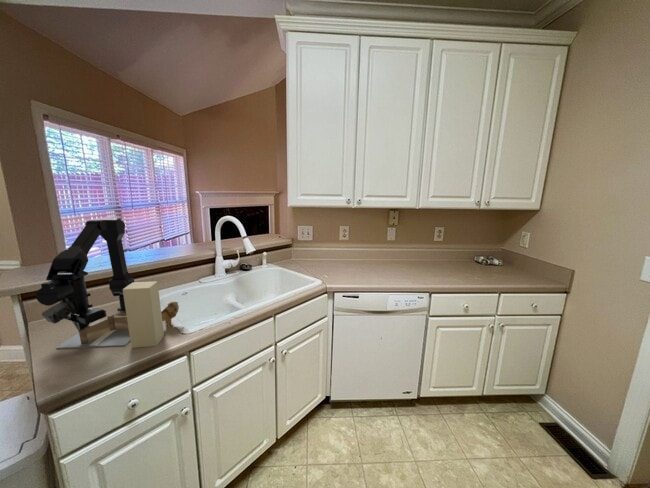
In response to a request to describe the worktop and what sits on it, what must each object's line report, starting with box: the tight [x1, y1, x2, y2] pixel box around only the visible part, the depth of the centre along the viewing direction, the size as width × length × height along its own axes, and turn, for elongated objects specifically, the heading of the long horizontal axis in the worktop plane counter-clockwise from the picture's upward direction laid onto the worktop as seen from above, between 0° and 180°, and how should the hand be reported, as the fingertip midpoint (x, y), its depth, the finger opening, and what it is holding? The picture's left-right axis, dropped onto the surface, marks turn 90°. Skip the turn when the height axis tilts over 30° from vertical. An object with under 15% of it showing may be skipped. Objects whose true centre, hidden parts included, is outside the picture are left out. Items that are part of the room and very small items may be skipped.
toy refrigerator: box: [123, 280, 165, 349], centre depth 92 cm, size 8×7×21 cm
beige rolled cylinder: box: [77, 317, 110, 344], centre depth 94 cm, size 2×9×5 cm, turn 163°
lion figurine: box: [161, 301, 180, 328], centre depth 101 cm, size 15×5×9 cm, turn 139°
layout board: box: [56, 319, 131, 350], centre depth 99 cm, size 18×22×1 cm
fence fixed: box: [106, 314, 129, 331], centre depth 100 cm, size 2×11×6 cm, turn 95°
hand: (83, 334), depth 93 cm, fingers closed
